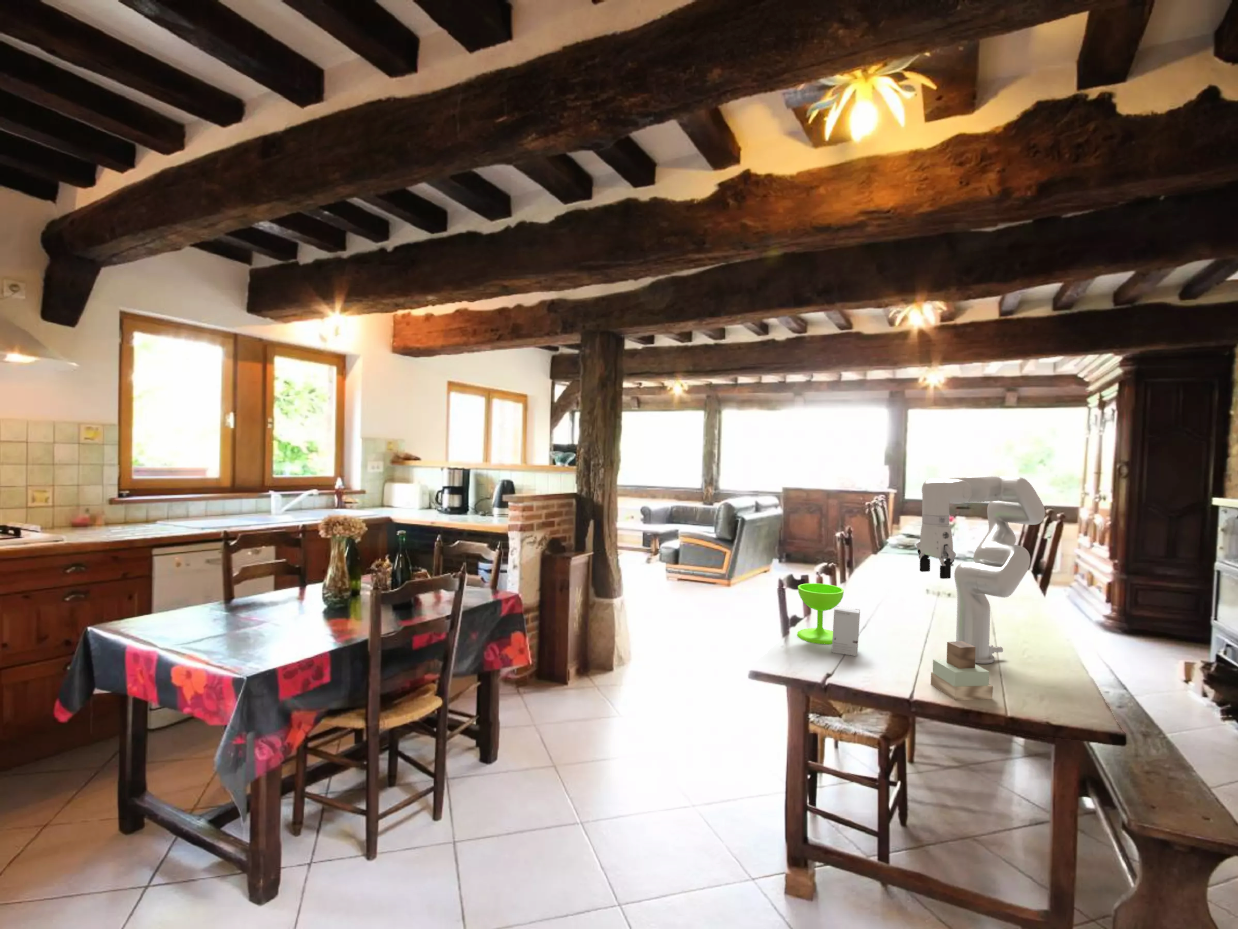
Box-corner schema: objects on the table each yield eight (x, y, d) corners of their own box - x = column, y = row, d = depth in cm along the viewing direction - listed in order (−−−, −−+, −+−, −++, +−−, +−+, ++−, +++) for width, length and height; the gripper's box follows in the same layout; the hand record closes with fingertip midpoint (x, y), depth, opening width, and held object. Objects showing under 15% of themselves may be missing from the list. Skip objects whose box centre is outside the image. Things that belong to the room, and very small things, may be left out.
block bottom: (965, 684, 177) (966, 671, 177) (992, 700, 166) (992, 686, 166) (930, 685, 176) (931, 672, 176) (955, 701, 165) (955, 687, 165)
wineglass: (832, 630, 227) (833, 583, 226) (850, 644, 211) (851, 593, 210) (791, 630, 226) (791, 583, 226) (805, 644, 210) (806, 593, 210)
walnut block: (961, 661, 174) (962, 641, 173) (974, 667, 169) (975, 646, 168) (946, 662, 173) (947, 642, 172) (959, 668, 168) (959, 647, 168)
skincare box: (831, 653, 202) (832, 609, 201) (833, 647, 207) (834, 605, 207) (858, 656, 198) (859, 612, 198) (859, 651, 204) (860, 608, 203)
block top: (964, 672, 176) (965, 658, 176) (988, 685, 166) (989, 671, 166) (932, 673, 175) (933, 659, 175) (954, 686, 165) (955, 672, 165)
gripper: (966, 524, 178) (965, 580, 179) (928, 516, 195) (928, 568, 196) (942, 524, 177) (942, 581, 178) (907, 517, 194) (906, 569, 195)
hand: (934, 574), depth 187 cm, fingers open, 9 cm apart
